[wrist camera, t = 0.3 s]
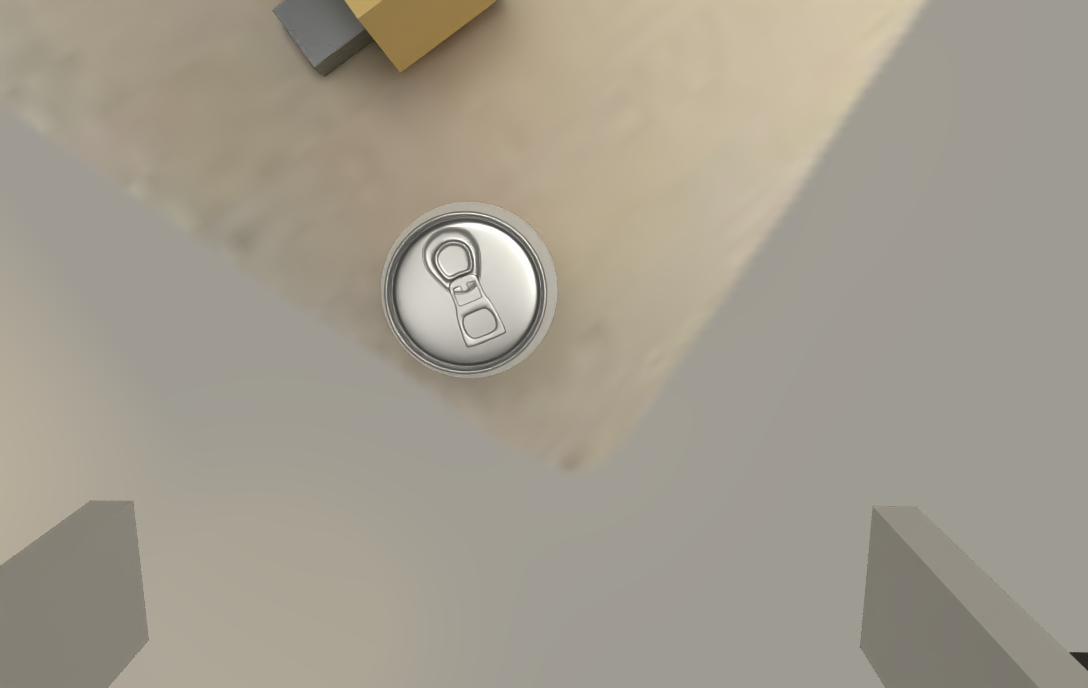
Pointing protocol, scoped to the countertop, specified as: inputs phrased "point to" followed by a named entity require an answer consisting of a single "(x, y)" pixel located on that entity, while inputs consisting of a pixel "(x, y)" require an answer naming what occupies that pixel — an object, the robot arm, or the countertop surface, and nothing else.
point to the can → (469, 289)
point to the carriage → (413, 24)
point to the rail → (323, 31)
